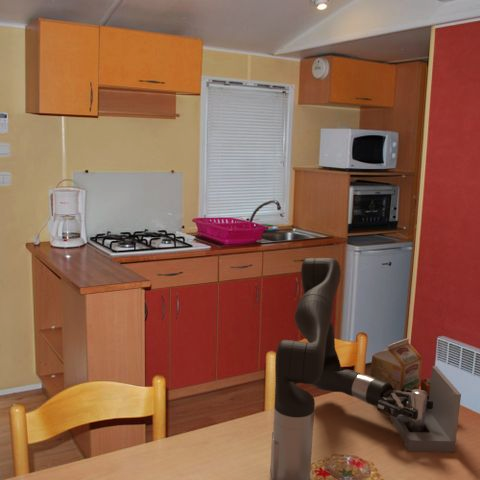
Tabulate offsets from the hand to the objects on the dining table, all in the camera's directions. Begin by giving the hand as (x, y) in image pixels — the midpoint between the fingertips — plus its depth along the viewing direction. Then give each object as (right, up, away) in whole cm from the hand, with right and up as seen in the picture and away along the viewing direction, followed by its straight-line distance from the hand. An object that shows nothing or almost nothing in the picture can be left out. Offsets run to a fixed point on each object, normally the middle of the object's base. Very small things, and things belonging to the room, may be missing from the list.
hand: (425, 410), depth 158 cm
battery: (+8, -6, +19) cm, 21 cm away
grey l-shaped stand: (0, -8, +5) cm, 9 cm away
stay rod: (-2, -8, +3) cm, 9 cm away
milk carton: (-2, -4, +25) cm, 25 cm away
